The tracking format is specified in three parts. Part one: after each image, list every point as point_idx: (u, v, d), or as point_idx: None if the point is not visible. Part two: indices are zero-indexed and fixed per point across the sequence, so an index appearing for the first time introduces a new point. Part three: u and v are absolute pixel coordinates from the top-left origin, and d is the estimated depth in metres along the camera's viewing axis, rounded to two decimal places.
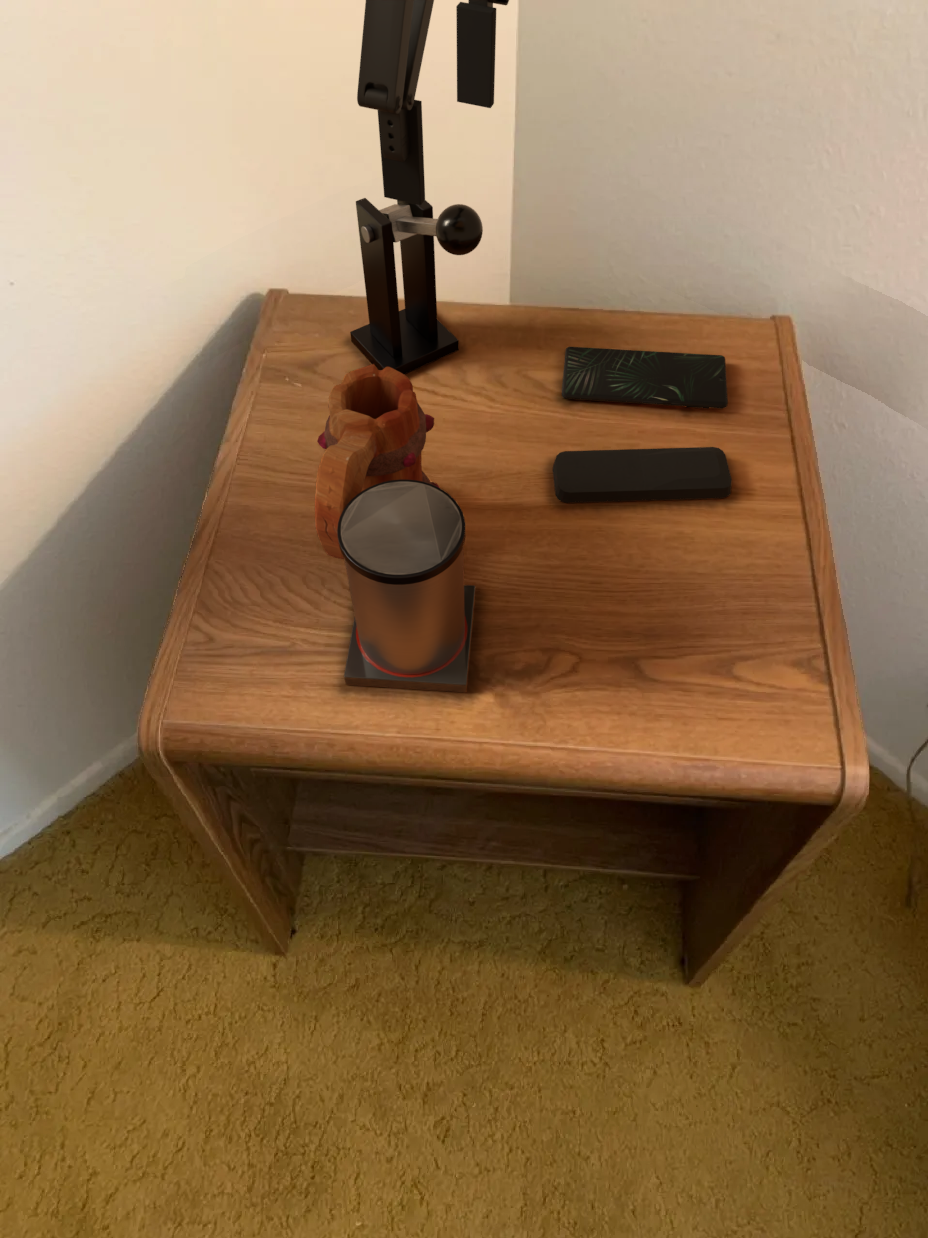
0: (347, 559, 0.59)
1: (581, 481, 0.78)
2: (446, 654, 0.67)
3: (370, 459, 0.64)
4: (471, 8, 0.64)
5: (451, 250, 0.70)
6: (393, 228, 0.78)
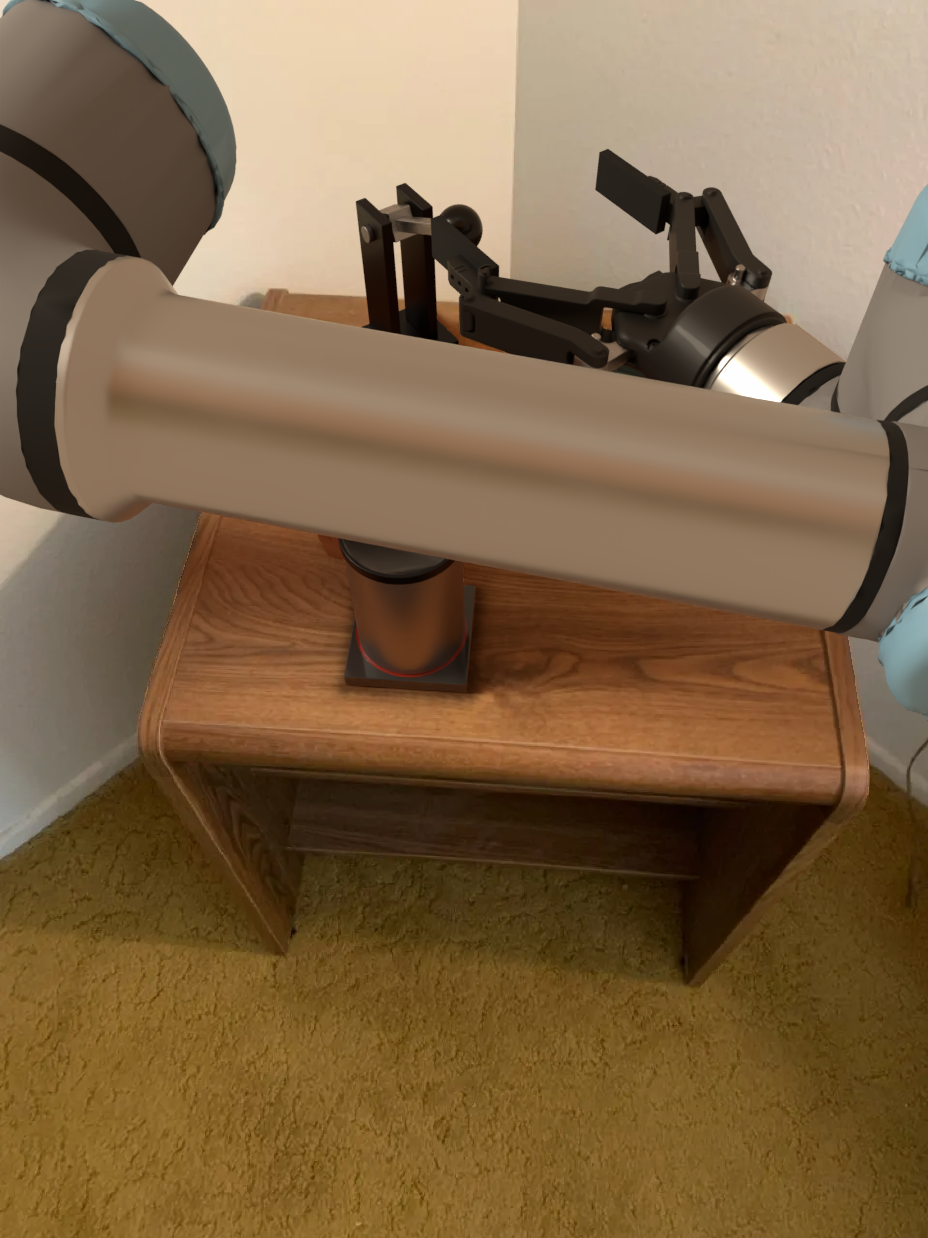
0: (347, 559, 0.59)
1: None
2: (446, 654, 0.67)
3: None
4: (660, 211, 0.60)
5: None
6: (393, 228, 0.78)
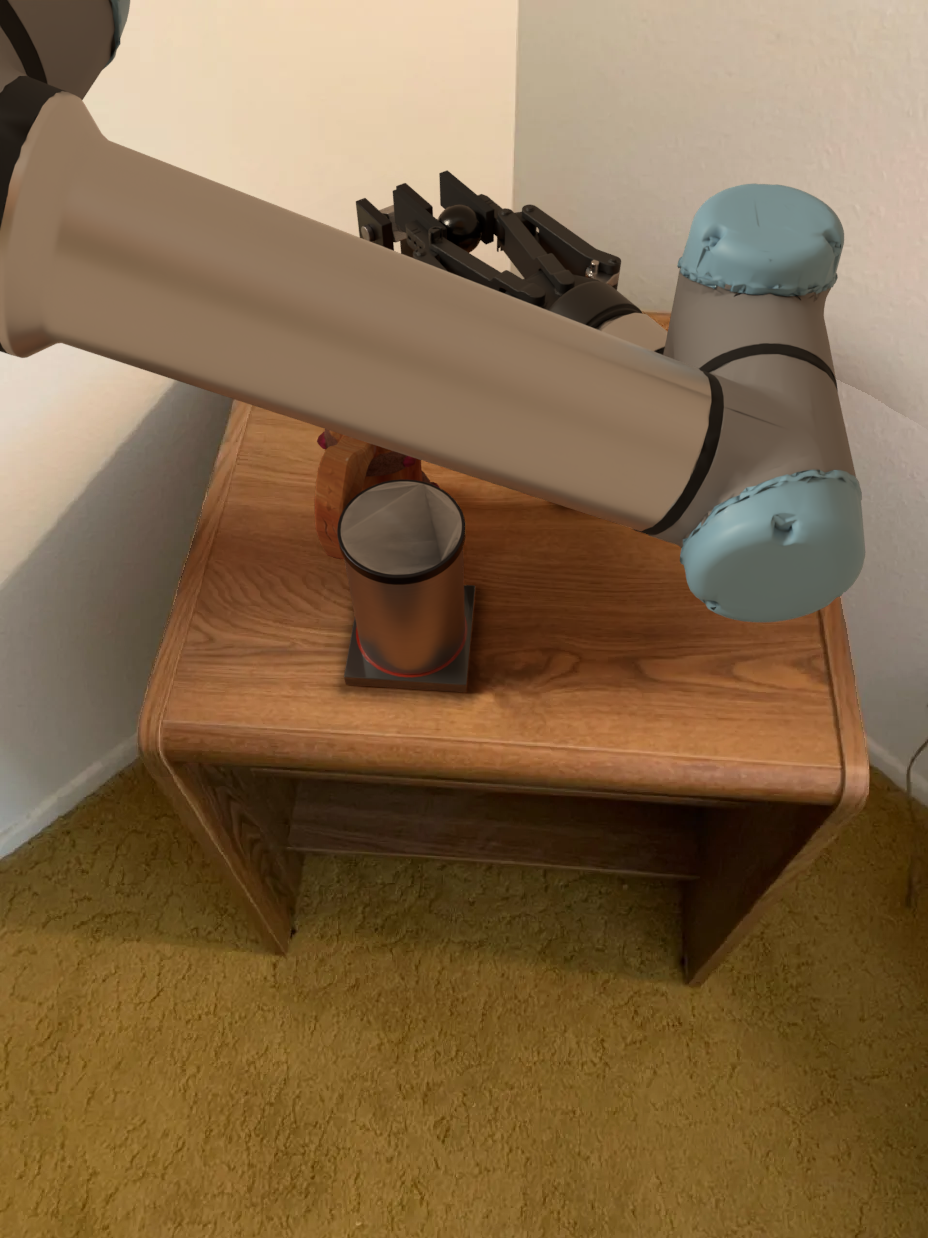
0: (347, 559, 0.59)
1: None
2: (446, 654, 0.67)
3: (370, 459, 0.64)
4: (486, 225, 0.70)
5: None
6: (393, 228, 0.78)
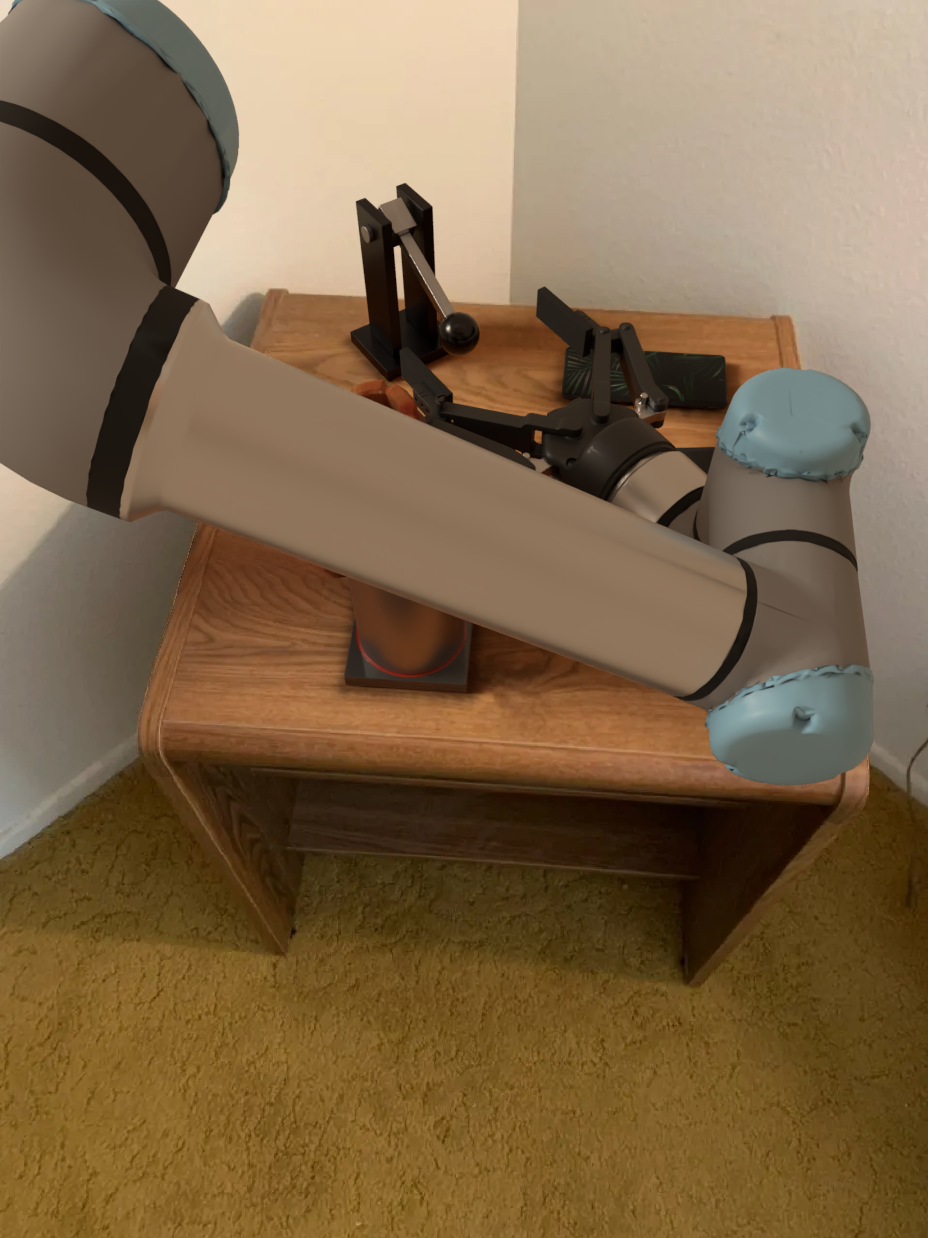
0: None
1: None
2: (446, 654, 0.67)
3: None
4: (585, 341, 0.75)
5: (446, 351, 0.79)
6: (393, 241, 0.79)
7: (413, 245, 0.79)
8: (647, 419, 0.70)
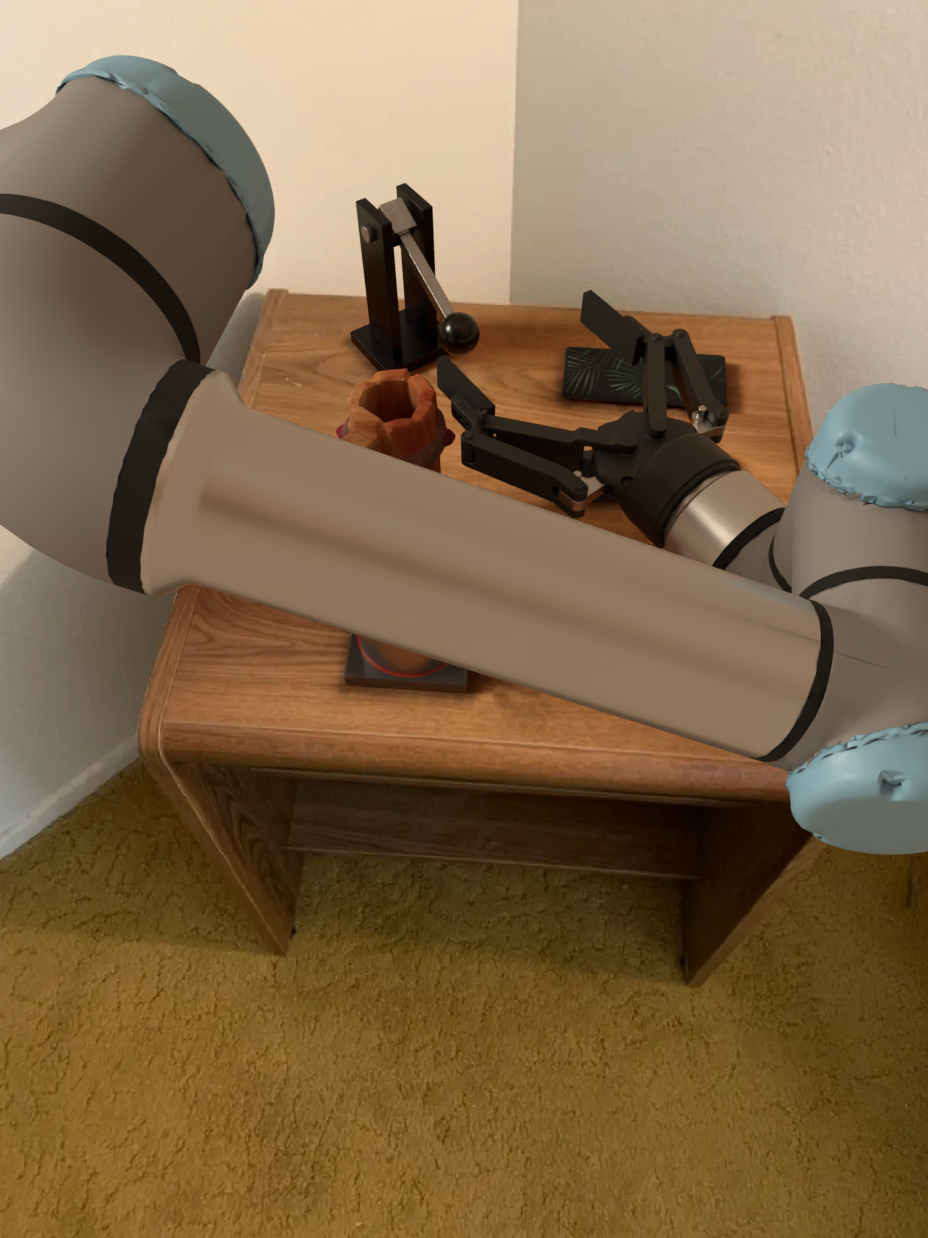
0: None
1: None
2: None
3: None
4: (635, 349, 0.70)
5: (446, 351, 0.79)
6: (393, 241, 0.79)
7: (413, 245, 0.79)
8: (705, 434, 0.65)
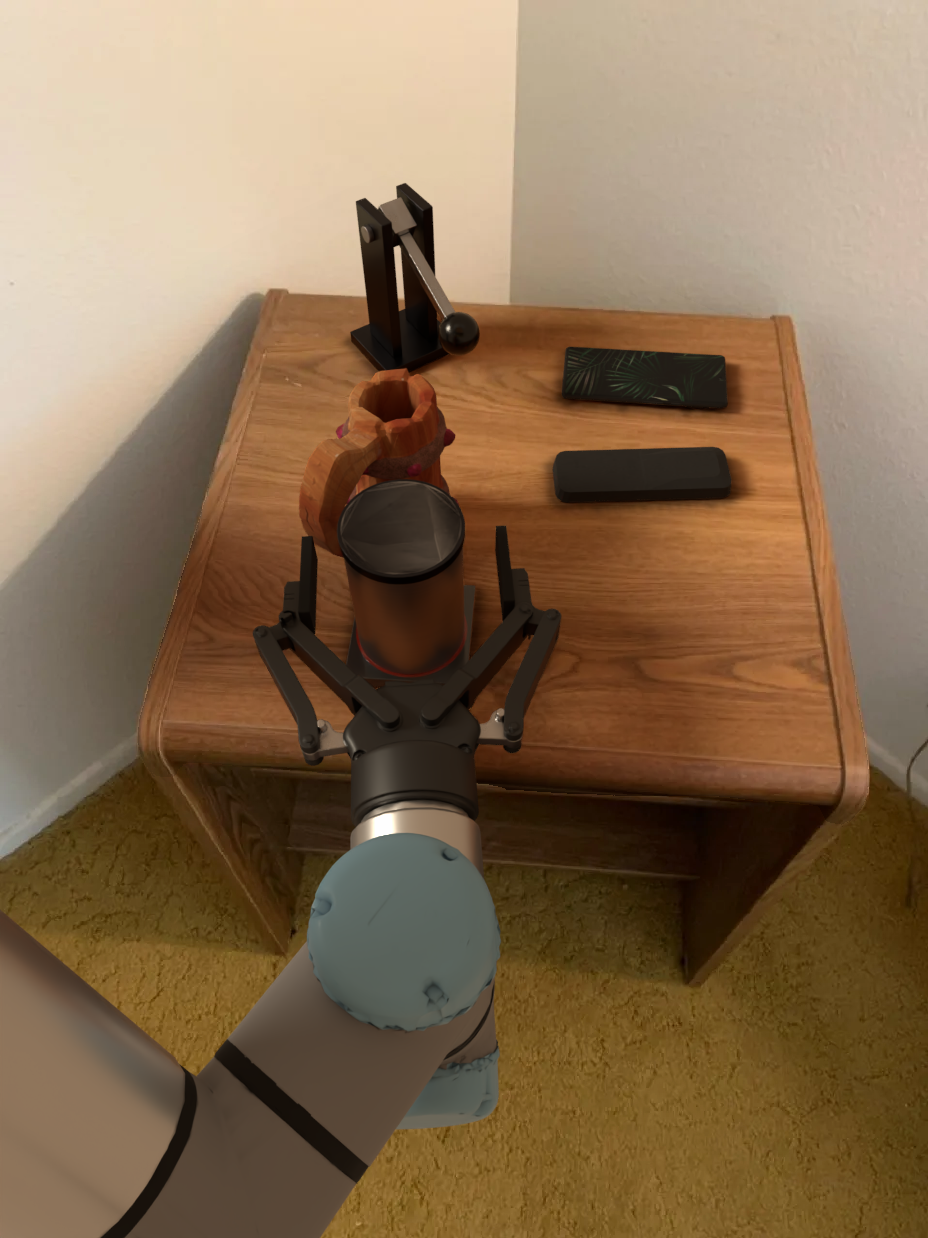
0: (347, 559, 0.59)
1: (581, 481, 0.78)
2: (446, 654, 0.67)
3: (370, 461, 0.64)
4: (504, 610, 0.62)
5: (446, 351, 0.79)
6: (393, 241, 0.79)
7: (413, 245, 0.79)
8: (491, 740, 0.57)
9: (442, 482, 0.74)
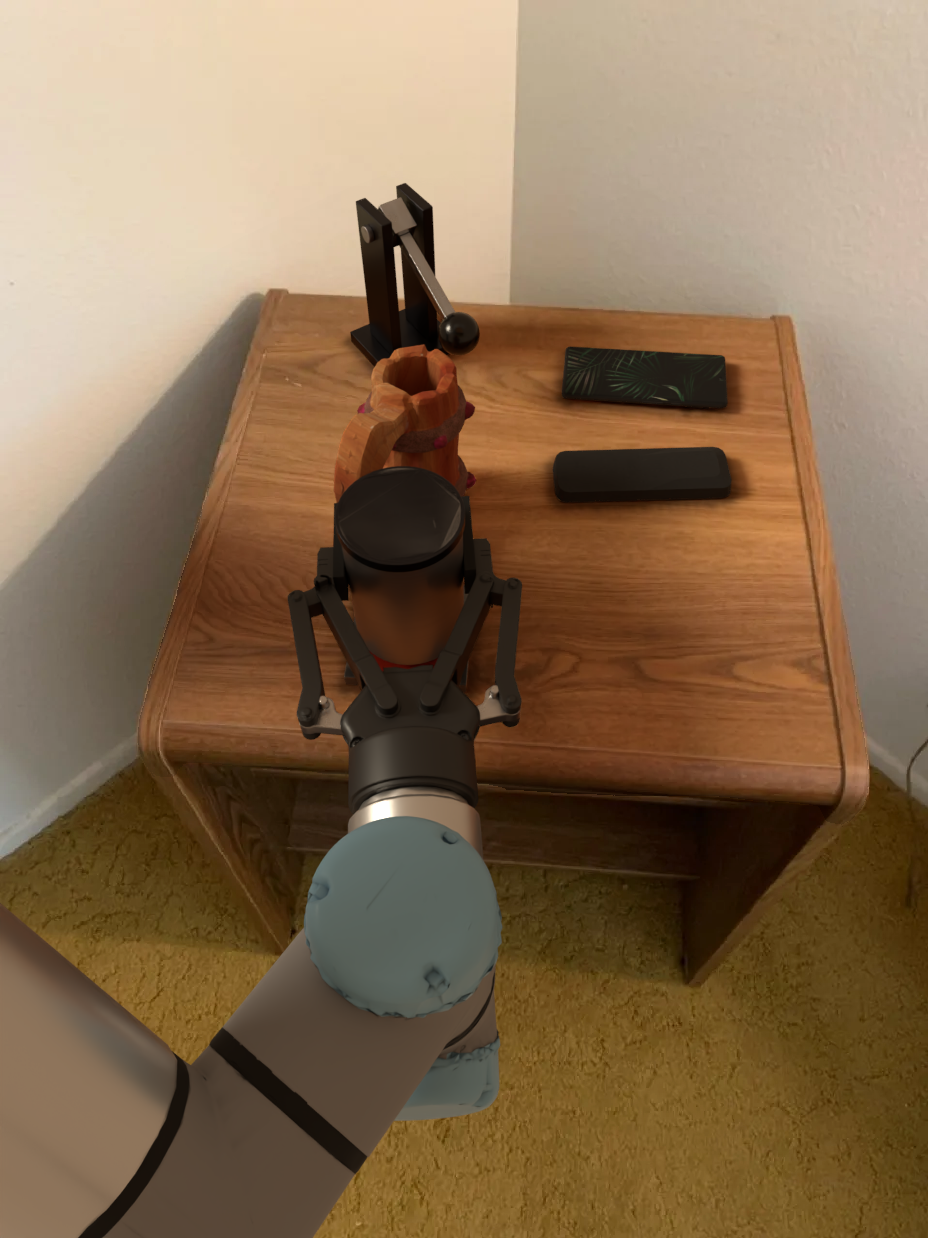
0: (345, 547, 0.58)
1: (581, 481, 0.78)
2: None
3: (399, 434, 0.66)
4: (465, 579, 0.62)
5: (446, 351, 0.79)
6: (393, 241, 0.79)
7: (413, 245, 0.79)
8: (492, 719, 0.56)
9: (458, 458, 0.75)
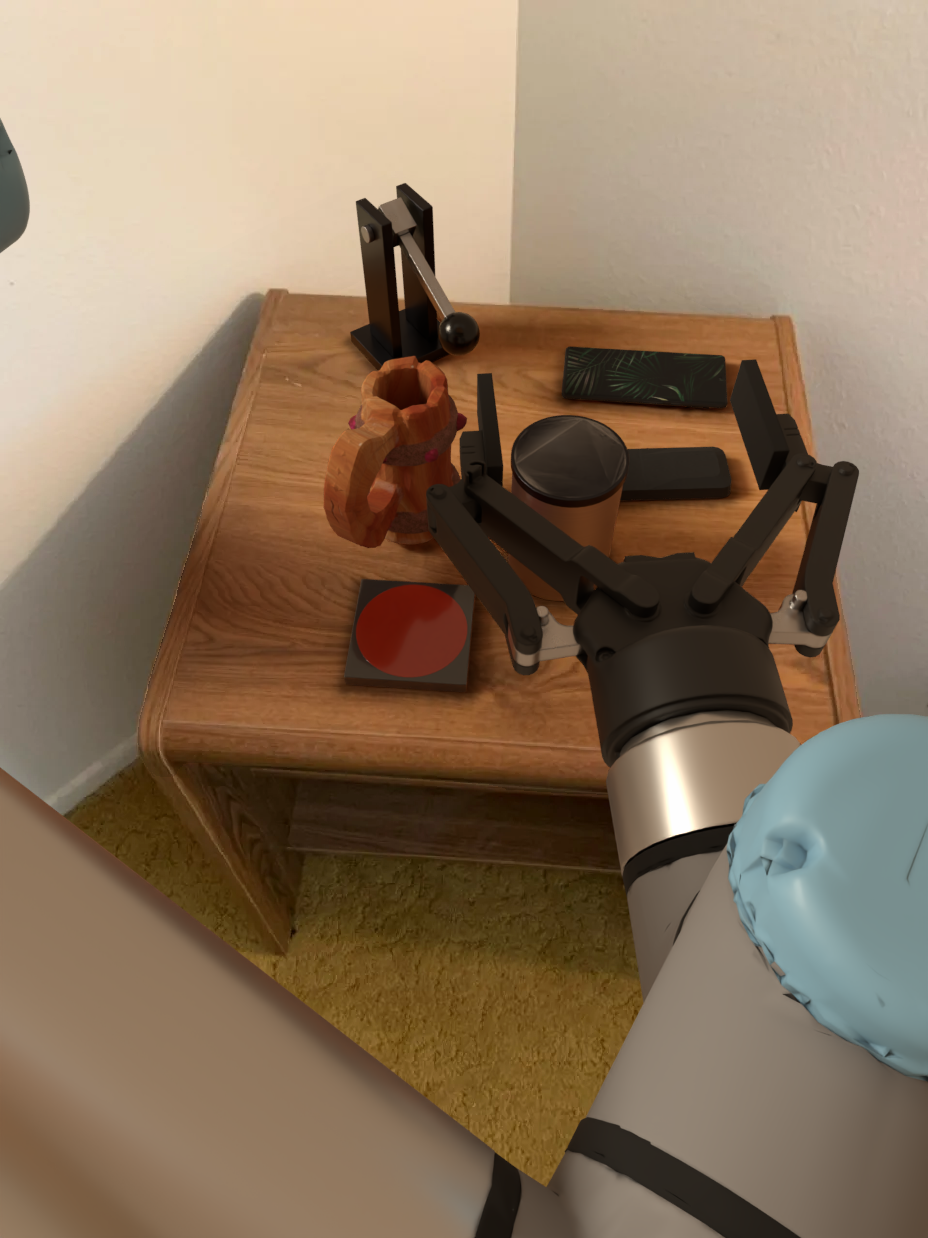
0: (524, 485, 0.64)
1: None
2: None
3: (389, 448, 0.65)
4: (769, 467, 0.45)
5: (446, 351, 0.79)
6: (393, 241, 0.79)
7: (413, 245, 0.79)
8: (787, 637, 0.39)
9: (451, 467, 0.75)
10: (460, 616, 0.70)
